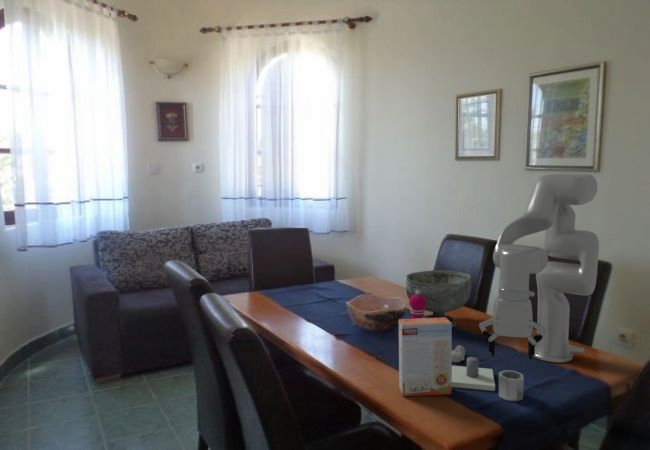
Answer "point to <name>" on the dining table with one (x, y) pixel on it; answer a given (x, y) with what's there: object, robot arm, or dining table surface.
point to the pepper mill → (417, 305)
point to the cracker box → (425, 356)
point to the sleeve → (511, 385)
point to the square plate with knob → (472, 376)
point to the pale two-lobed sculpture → (458, 354)
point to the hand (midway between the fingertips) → (511, 355)
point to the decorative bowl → (440, 291)
